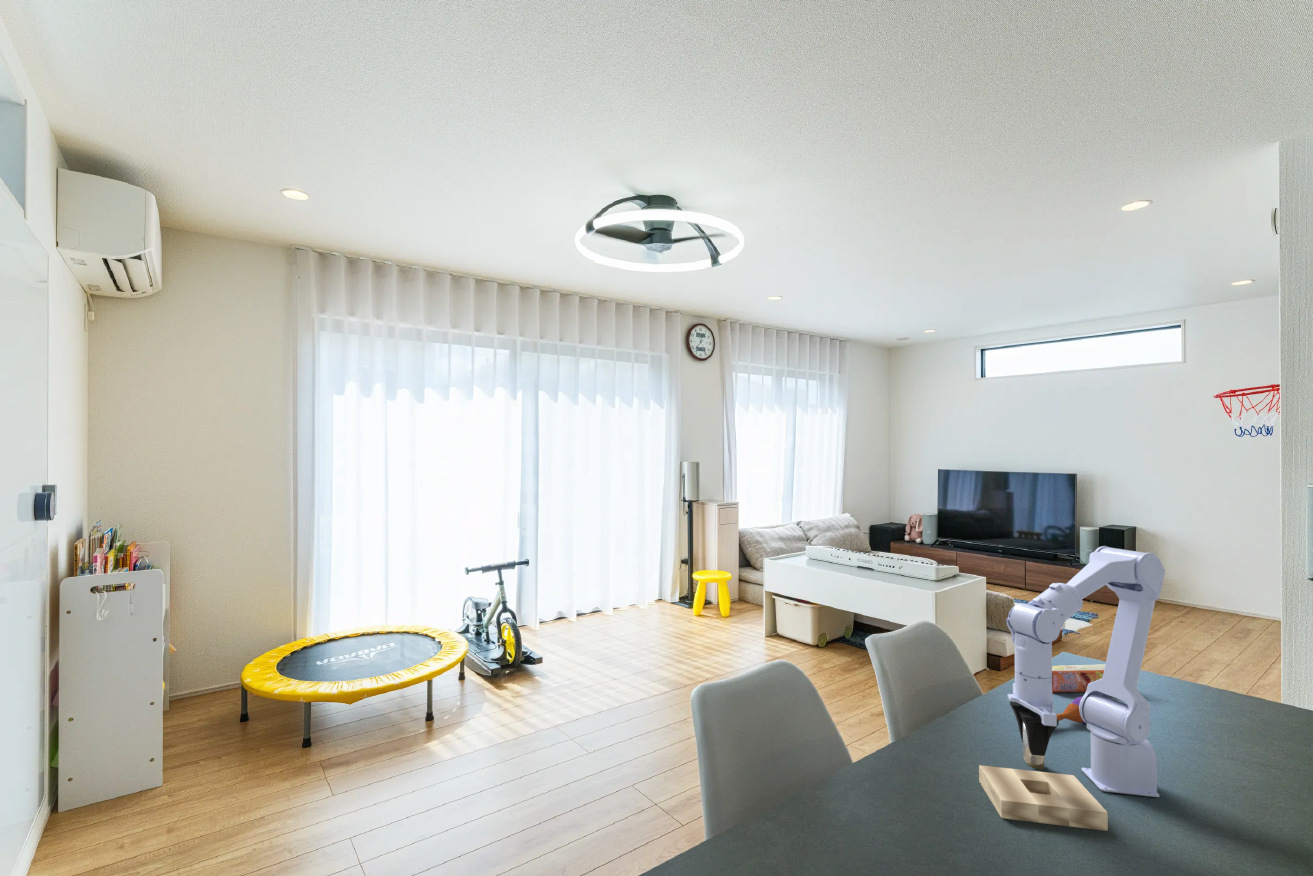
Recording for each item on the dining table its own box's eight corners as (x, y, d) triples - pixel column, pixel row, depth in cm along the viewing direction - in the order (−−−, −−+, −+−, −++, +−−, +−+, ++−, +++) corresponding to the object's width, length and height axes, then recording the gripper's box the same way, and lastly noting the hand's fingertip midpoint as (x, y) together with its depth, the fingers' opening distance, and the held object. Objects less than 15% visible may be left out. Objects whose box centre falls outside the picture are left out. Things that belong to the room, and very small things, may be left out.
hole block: (1073, 791, 112) (1073, 775, 112) (1107, 831, 100) (1107, 812, 100) (979, 781, 115) (979, 765, 115) (1001, 818, 103) (1001, 800, 103)
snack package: (1052, 695, 158) (1052, 669, 159) (1035, 685, 165) (1035, 660, 165) (1132, 695, 159) (1131, 669, 159) (1112, 686, 166) (1112, 660, 166)
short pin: (1040, 763, 122) (1040, 742, 123) (1047, 770, 120) (1047, 749, 120) (1024, 761, 123) (1024, 741, 123) (1030, 768, 120) (1030, 748, 120)
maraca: (1015, 707, 140) (1081, 692, 146) (1021, 735, 139) (1087, 718, 145) (1037, 713, 135) (1105, 697, 140) (1043, 741, 134) (1111, 724, 139)
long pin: (1038, 757, 110) (1038, 718, 110) (1045, 765, 107) (1045, 725, 108) (1020, 755, 111) (1020, 716, 111) (1026, 763, 108) (1026, 723, 108)
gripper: (995, 658, 118) (995, 729, 117) (1023, 685, 103) (1024, 767, 103) (1035, 661, 116) (1036, 733, 116) (1070, 689, 102) (1070, 772, 101)
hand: (1033, 749), depth 109 cm, fingers closed on long pin, 3 cm apart
